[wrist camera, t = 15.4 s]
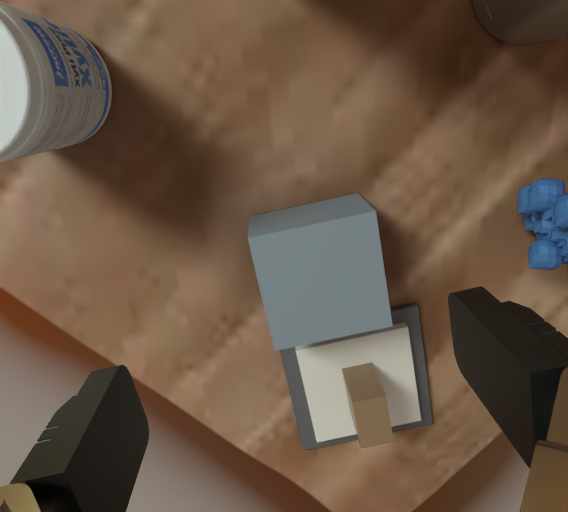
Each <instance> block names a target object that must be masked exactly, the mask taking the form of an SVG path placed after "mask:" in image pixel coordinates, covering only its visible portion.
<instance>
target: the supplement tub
mask: <svg viewBox="0 0 568 512" xmlns="http://www.w3.org/2000/svg"><path fill="white" fill-rule="evenodd" d="M111 99H112V86H111V79H110V75H109V72H108V69H107V67H106V64H105V62H104V61H103V59H102V57H101V56H100V54H99V52H98V51H97V50H96V48H95V47H94V46H93V45H92V44H91V43H90V42H89V41H88V40H87V39H86V38H85V37H84V36H82V35H81V34H79V33H78V32H76V31H75V30H73V29H71V28H69V27H67V26H64V25H62V24H60V23H57V22H54V21H52V20H49V19H46V18H44V17H41V16H38V15H36V14H33V13H30V12H28V11H25V10H22V9H20V8H17V7H14V6H12V5H9V4H6V3H4V2H1V1H0V162H4V161H9V160H13V159H17V158H21V157H25V156H30V155H34V154H38V153H42V152H46V151H50V150H55V149H59V148H64V147H68V146H71V145H75V144H78V143H81V142H83V141H85V140H86V139H88V138H90V137H91V136H92V135H94V134H95V133H96V132H97V131H98V130H99V129H100V127H101V126H102V125H103V123H104V121H105V120H106V118H107V115H108V113H109V110H110V106H111Z"/></svg>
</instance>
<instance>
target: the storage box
mask: <svg viewBox="0 0 568 512" xmlns="http://www.w3.org/2000/svg"><path fill="white" fill-rule="evenodd" d="M248 242H249V246H250V250H251V254H252V259H253V263H254V267H255V271H256V275H257V279H258V284H259V288H260V292H261V296H262V300H263V305H264V309H265V313H266V317H267V321H268V325H269V330H270V334H271V338H272V342H273V346H274V350H275V351H278V350H282V349H287V348H292V347H297V346H301V345H306V344H311V343H316V342H321V341H325V340H330V339H335V338H340V337H344V336H349V335H354V334H359V333H364V332H368V331H373V330H378V329H383V328H388V327H392V326H393V325H392V318H391V311H390V304H389V297H388V290H387V284H386V277H385V270H384V263H383V256H382V249H381V242H380V235H379V228H378V222H377V215H376V211H375V210H374V209H373V208H372V207H371V206H370V205H369V204H368V203H367V202H366V201H365V200H364V199H363V198H362V197H361V196H360V195H359V194H358V193H357V194H352V195H348V196H343V197H338V198H333V199H329V200H324V201H319V202H315V203H310V204H305V205H301V206H296V207H291V208H287V209H282V210H277V211H272V212H268V213H263V214H258V215H254V216H249V224H248Z"/></svg>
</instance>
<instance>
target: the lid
mask: <svg viewBox="0 0 568 512" xmlns="http://www.w3.org/2000/svg"><path fill="white" fill-rule="evenodd" d="M295 350H296V354H297V359H298V363H299V367H300V372H301V376H302V380H303V385H304V389H305V393H306V398H307V402H308V406H309V411H310V415H311V419H312V424H313V428H314V433H315V437H316V441H317V442H322V441H327V440H331V439H336V438H341V437H346V436H350V435H355V434H357V436H358V439H359V443H360V446H361V448H366V447H371V446H376V445H380V444H385V443H390V442H394V440H393V434H392V428H391V427H393V426H398V425H402V424H407V423H412V422H416V421H421V416H420V408H419V401H418V394H417V387H416V380H415V373H414V366H413V359H412V352H411V345H410V337H409V330H408V326H407V325H406V323H405V322H404V323H399V324H394V325H393V326H392V327H388V328H383V329H378V330H373V331H368V332H364V333H359V334H354V335H349V336H344V337H340V338H335V339H330V340H325V341H321V342H316V343H311V344H306V345H301V346H297V347H295Z"/></svg>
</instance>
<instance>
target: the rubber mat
mask: <svg viewBox="0 0 568 512" xmlns="http://www.w3.org/2000/svg"><path fill="white" fill-rule="evenodd" d="M390 311H391V318H392V325H394V324H399V323H404V322H405V323H406V325H407V326H408V330H409V337H410V345H411V352H412V359H413V366H414V373H415V380H416V387H417V394H418V401H419V408H420V416H421V421H416V422H412V423H407V424H402V425H398V426H393V427H391V428H392V432H395V431H400V430H405V429H410V428H415V427H420V426H425V425H429V424H433V422H432V414H431V406H430V397H429V389H428V381H427V373H426V365H425V357H424V349H423V341H422V333H421V325H420V317H419V309H418V305H417V304H411V305H406V306H402V307H397V308H392V309H390ZM280 352H281V357H282V361H283V365H284V369H285V374H286V378H287V382H288V386H289V391H290V395H291V399H292V403H293V408H294V412H295V416H296V420H297V425H298V429H299V433H300V437H301V442H302V446H303V450H308V449H313V448H318V447H323V446H328V445H332V444H337V443H342V442H347V441H352V440H357V439H358V436H357V434H355V435H350V436H346V437H341V438H336V439H331V440H327V441H322V442H317V441H316V437H315V433H314V428H313V424H312V419H311V415H310V411H309V406H308V402H307V398H306V393H305V389H304V385H303V380H302V376H301V372H300V367H299V363H298V359H297V354H296V350H295V347H292V348H287V349H282V350H280Z"/></svg>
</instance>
